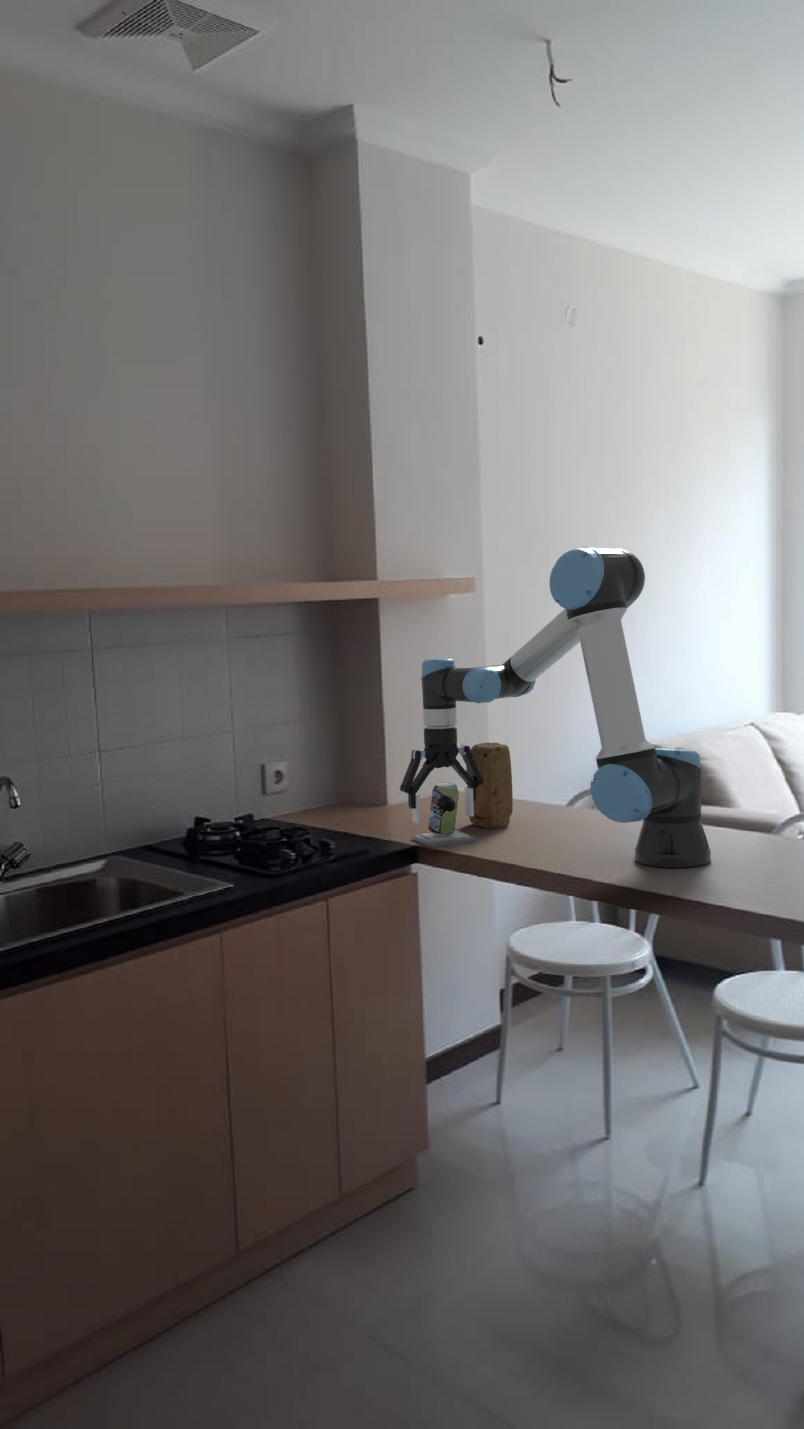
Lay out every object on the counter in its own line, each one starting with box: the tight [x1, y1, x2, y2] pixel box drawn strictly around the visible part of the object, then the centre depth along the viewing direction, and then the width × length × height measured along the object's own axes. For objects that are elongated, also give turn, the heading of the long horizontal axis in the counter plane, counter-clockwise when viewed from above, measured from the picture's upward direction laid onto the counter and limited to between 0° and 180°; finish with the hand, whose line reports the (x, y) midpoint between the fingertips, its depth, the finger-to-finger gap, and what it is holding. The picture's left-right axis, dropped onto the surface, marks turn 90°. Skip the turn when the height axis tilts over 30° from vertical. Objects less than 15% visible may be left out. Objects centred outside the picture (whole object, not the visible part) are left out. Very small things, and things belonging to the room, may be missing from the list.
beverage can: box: [428, 781, 460, 836], centre depth 258 cm, size 6×7×12 cm
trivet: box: [411, 829, 478, 849], centre depth 259 cm, size 11×11×1 cm
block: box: [465, 742, 514, 829], centre depth 273 cm, size 11×8×20 cm
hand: (443, 819), depth 258 cm, fingers open, 13 cm apart
